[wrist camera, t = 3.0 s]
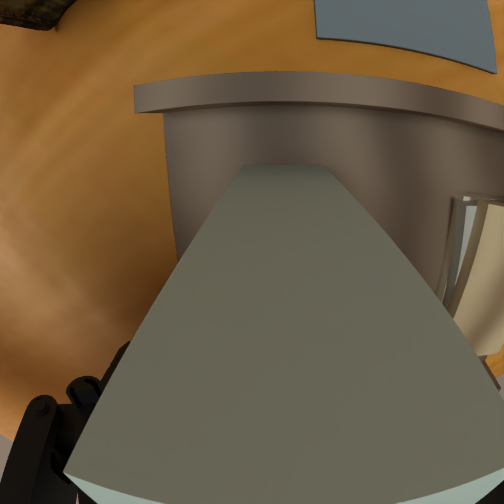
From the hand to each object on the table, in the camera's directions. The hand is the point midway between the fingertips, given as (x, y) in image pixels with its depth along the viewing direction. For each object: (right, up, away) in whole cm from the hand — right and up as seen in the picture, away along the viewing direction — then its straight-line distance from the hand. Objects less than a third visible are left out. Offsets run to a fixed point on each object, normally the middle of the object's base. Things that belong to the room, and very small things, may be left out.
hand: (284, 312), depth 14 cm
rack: (+6, +2, +4) cm, 8 cm away
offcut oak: (+13, +1, +1) cm, 13 cm away
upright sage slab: (0, +2, +4) cm, 4 cm away
